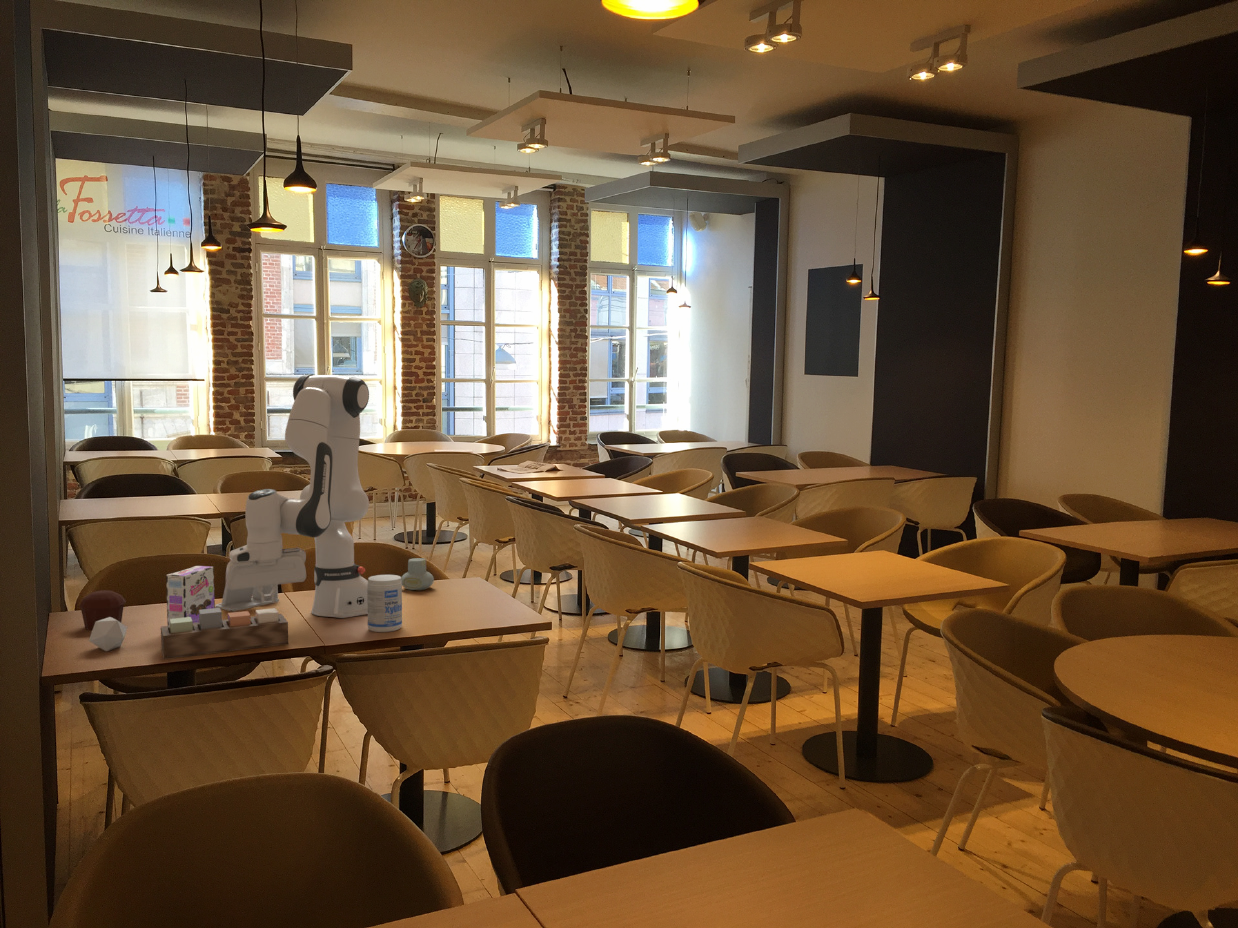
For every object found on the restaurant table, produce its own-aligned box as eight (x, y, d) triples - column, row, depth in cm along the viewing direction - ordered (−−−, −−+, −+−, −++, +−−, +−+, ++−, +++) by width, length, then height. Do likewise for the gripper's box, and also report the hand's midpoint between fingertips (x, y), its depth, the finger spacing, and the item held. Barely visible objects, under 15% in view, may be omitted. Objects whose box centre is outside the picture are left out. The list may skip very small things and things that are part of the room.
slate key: (219, 626, 254) (219, 607, 253) (222, 630, 250) (221, 611, 249) (199, 628, 251) (198, 609, 251) (201, 632, 247) (200, 613, 247)
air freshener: (437, 587, 325) (437, 558, 324) (428, 592, 317) (427, 562, 316) (407, 585, 327) (406, 556, 326) (396, 590, 319) (396, 561, 318)
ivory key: (275, 626, 261) (275, 608, 260) (278, 630, 256) (278, 612, 256) (256, 628, 258) (255, 610, 258) (258, 632, 254) (258, 614, 254)
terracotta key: (248, 629, 257) (247, 610, 257) (250, 633, 253) (250, 615, 253) (228, 631, 255) (227, 612, 255) (230, 635, 251) (230, 617, 250)
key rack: (281, 634, 264) (281, 613, 264) (288, 644, 255) (287, 621, 255) (161, 649, 250) (160, 626, 249) (164, 659, 241) (163, 635, 241)
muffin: (73, 632, 265) (71, 596, 264) (88, 621, 276) (87, 587, 275) (119, 630, 267) (117, 595, 266) (132, 620, 278) (131, 586, 277)
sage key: (191, 635, 251) (190, 616, 250) (193, 640, 246) (192, 621, 246) (170, 637, 248) (169, 618, 248) (171, 642, 244) (171, 623, 243)
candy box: (185, 634, 264) (183, 575, 263) (166, 632, 265) (164, 574, 264) (216, 621, 278) (214, 565, 276) (198, 620, 279) (196, 564, 277)
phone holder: (262, 596, 309) (261, 541, 308) (282, 601, 304) (281, 544, 302) (213, 607, 295) (211, 549, 293) (233, 611, 289) (231, 553, 288)
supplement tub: (390, 634, 266) (390, 582, 265) (360, 631, 269) (360, 579, 267) (408, 625, 275) (408, 575, 274) (379, 622, 278) (378, 573, 277)
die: (109, 644, 256) (84, 620, 251) (137, 628, 256) (113, 604, 251) (103, 663, 249) (77, 639, 244) (132, 647, 249) (107, 622, 244)
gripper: (303, 544, 263) (305, 593, 265) (223, 552, 254) (226, 603, 255) (307, 548, 258) (310, 599, 259) (226, 557, 248) (229, 609, 250)
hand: (267, 601), depth 257 cm, fingers closed
